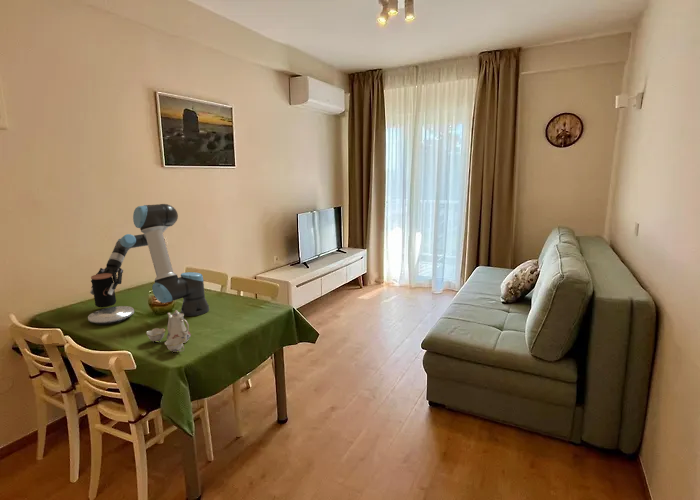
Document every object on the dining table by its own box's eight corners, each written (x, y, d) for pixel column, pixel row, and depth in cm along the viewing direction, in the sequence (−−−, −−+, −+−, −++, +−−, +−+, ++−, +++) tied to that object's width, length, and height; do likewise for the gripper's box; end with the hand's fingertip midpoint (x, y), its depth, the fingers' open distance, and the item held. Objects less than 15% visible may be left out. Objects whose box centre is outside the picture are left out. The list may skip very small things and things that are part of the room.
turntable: (142, 308, 226) (142, 306, 226) (116, 323, 205) (116, 320, 205) (107, 307, 229) (107, 305, 228) (78, 322, 207) (77, 319, 207)
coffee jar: (106, 308, 226) (102, 278, 222) (91, 307, 228) (86, 277, 224) (120, 302, 236) (116, 273, 232) (105, 301, 238) (101, 272, 234)
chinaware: (141, 346, 188) (133, 315, 183) (172, 330, 201) (165, 301, 196) (177, 361, 173) (169, 327, 168) (207, 343, 186) (201, 311, 182)
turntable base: (134, 314, 224) (134, 310, 224) (115, 325, 209) (115, 321, 208) (109, 313, 226) (108, 310, 226) (88, 324, 210) (87, 320, 210)
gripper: (136, 264, 241) (122, 297, 229) (101, 264, 244) (86, 296, 232) (129, 258, 235) (115, 291, 223) (94, 258, 238) (78, 290, 226)
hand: (100, 293), depth 228 cm, fingers closed on coffee jar, 11 cm apart
